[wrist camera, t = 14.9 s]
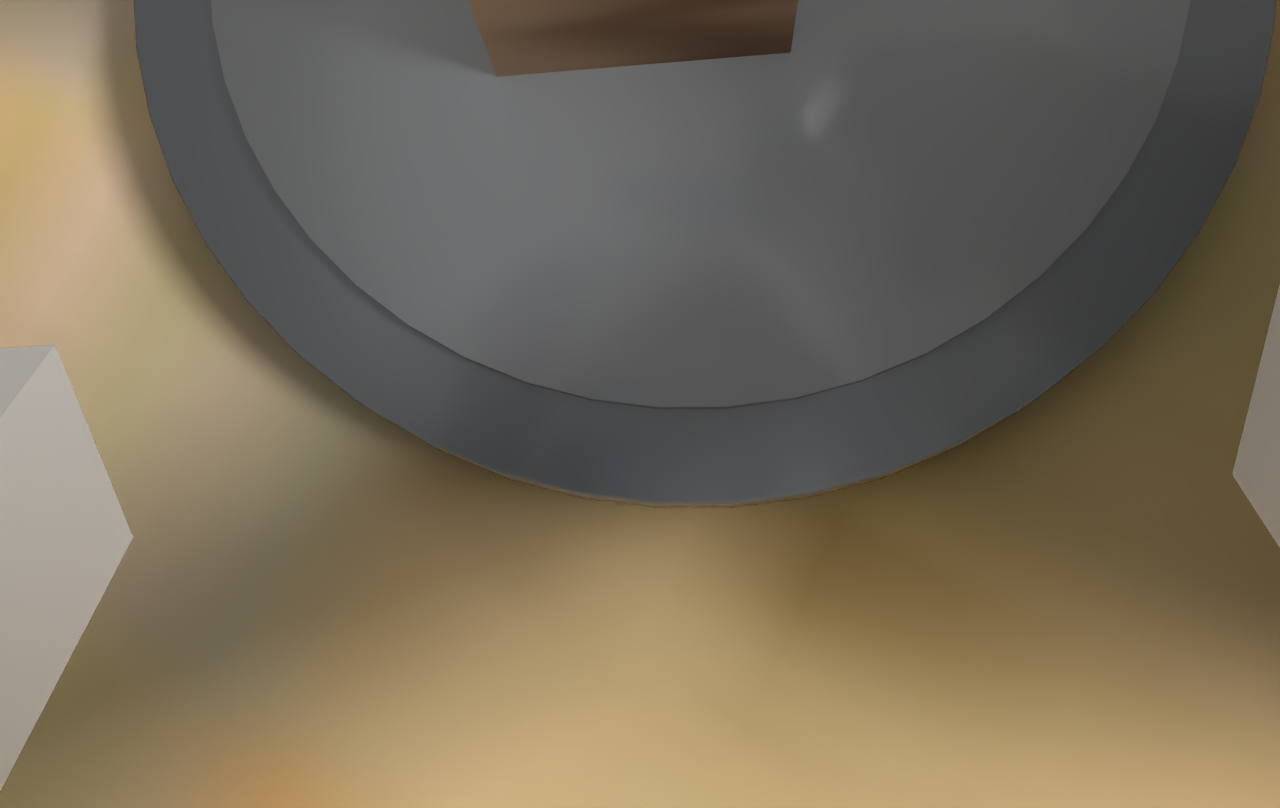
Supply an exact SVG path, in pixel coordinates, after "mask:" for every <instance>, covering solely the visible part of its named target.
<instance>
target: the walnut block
mask: <svg viewBox="0 0 1280 808" xmlns="http://www.w3.org/2000/svg"><path fill="white" fill-rule="evenodd" d="M468 2H469V5H470V7H471V10H472V13H473V15H474V18H475V21H476V23H477V26H478V28H479V31H480V34H481V36H482V39H483V42H484V44H485V47H486V50H487V52H488V55H489V57H490V60H491V63H492V65H493V68H494V71H495V73H496V76H497V77H500V76H512V75H524V74H537V73H549V72H561V71H573V70H585V69H597V68H610V67H622V66H634V65H646V64H658V63H670V62H683V61H695V60H707V59H719V58H731V57H744V56H756V55H768V54H780V53H791V47H792V40H793V33H794V26H795V19H796V13H797V6H798V0H468Z"/></svg>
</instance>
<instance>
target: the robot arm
mask: <svg viewBox="0 0 1280 808" xmlns="http://www.w3.org/2000/svg"><path fill="white" fill-rule="evenodd" d="M1232 475H1233V477H1234V478H1235V480H1236V481H1237V483H1238V484H1239V486H1240V487H1241V489H1242V491H1243V492H1244V494H1245V495H1246V497H1247V498H1248V500H1249V501H1250V503H1251V505H1252V506H1253V508H1254V509H1255V511H1256V512H1257V514H1258V515H1259V517H1260V518H1261V520H1262V522H1263V523H1264V525H1265V526H1266V528H1267V529H1268V531H1269V532H1270V534H1271V536H1272V537H1273V539H1274V540H1275V542H1276V543H1277V545H1278V546H1279V548H1280V285H1279V289H1278V293H1277V297H1276V301H1275V305H1274V309H1273V313H1272V317H1271V321H1270V325H1269V329H1268V333H1267V337H1266V341H1265V345H1264V349H1263V353H1262V357H1261V361H1260V365H1259V369H1258V373H1257V377H1256V381H1255V385H1254V389H1253V393H1252V397H1251V401H1250V405H1249V409H1248V413H1247V417H1246V421H1245V425H1244V429H1243V433H1242V437H1241V441H1240V445H1239V449H1238V453H1237V457H1236V461H1235V465H1234V469H1233V473H1232ZM132 539H133V536H132V533H131V531H130V528H129V526H128V523H127V521H126V518H125V516H124V513H123V511H122V508H121V506H120V504H119V501H118V499H117V496H116V494H115V491H114V489H113V486H112V484H111V481H110V479H109V476H108V474H107V471H106V469H105V467H104V464H103V462H102V459H101V457H100V454H99V452H98V449H97V447H96V444H95V442H94V439H93V437H92V434H91V432H90V430H89V427H88V425H87V422H86V420H85V417H84V415H83V412H82V410H81V407H80V405H79V402H78V400H77V397H76V395H75V393H74V390H73V388H72V385H71V383H70V380H69V378H68V375H67V373H66V370H65V368H64V365H63V363H62V360H61V358H60V356H59V353H58V351H57V348H56V346H55V345H45V346H29V347H14V348H0V791H1V789H2V787H3V785H4V783H5V782H6V780H7V778H8V776H9V774H10V772H11V770H12V768H13V766H14V764H15V762H16V761H17V759H18V757H19V755H20V753H21V751H22V749H23V747H24V745H25V743H26V741H27V739H28V738H29V736H30V734H31V732H32V730H33V728H34V726H35V724H36V722H37V720H38V718H39V717H40V715H41V713H42V711H43V709H44V707H45V705H46V703H47V701H48V699H49V697H50V695H51V694H52V692H53V690H54V688H55V686H56V684H57V682H58V680H59V678H60V676H61V674H62V673H63V671H64V669H65V667H66V665H67V663H68V661H69V659H70V657H71V655H72V653H73V651H74V650H75V648H76V646H77V644H78V642H79V640H80V638H81V636H82V634H83V632H84V630H85V629H86V627H87V625H88V623H89V621H90V619H91V617H92V615H93V613H94V611H95V609H96V607H97V606H98V604H99V602H100V600H101V598H102V596H103V594H104V592H105V590H106V588H107V586H108V585H109V583H110V581H111V579H112V577H113V575H114V573H115V571H116V569H117V567H118V565H119V563H120V562H121V560H122V558H123V556H124V554H125V552H126V550H127V548H128V546H129V544H130V542H131V541H132Z"/></svg>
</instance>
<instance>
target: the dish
mask: <svg viewBox="0 0 1280 808" xmlns="http://www.w3.org/2000/svg"><path fill="white" fill-rule="evenodd" d="M134 12H135V30H136V48H137V53H138V58H139V63H140V68H141V73H142V79H143V84H144V89H145V94H146V99H147V104H148V109H149V114H150V117H151V120H152V123H153V126H154V129H155V131H156V134H157V137H158V140H159V143H160V146H161V148H162V151H163V154H164V157H165V160H166V163H167V165H168V168H169V171H170V174H171V177H172V180H173V182H174V184H175V186H176V188H177V190H178V191H179V193H180V195H181V197H182V199H183V201H184V203H185V205H186V207H187V209H188V211H189V212H190V214H191V216H192V218H193V220H194V222H195V224H196V226H197V228H198V230H199V232H200V233H201V235H202V237H203V239H204V241H205V243H206V244H207V246H208V247H209V249H210V250H211V251H212V253H213V254H214V256H215V257H216V258H217V260H218V261H219V262H220V264H221V265H222V267H223V268H224V269H225V271H226V272H227V274H228V275H229V276H230V278H231V279H232V281H233V282H234V283H235V285H236V286H237V287H238V289H239V290H240V292H241V293H242V294H243V296H244V297H245V299H246V300H247V301H248V302H249V303H250V305H251V306H252V307H253V308H254V309H255V310H256V311H257V312H258V313H259V314H260V315H261V316H262V317H263V318H264V319H265V320H266V321H267V322H268V323H269V324H270V325H271V326H272V327H273V328H274V329H275V331H276V332H277V333H278V334H279V335H280V336H281V337H282V338H283V339H284V340H285V341H286V342H287V343H288V344H289V345H290V346H291V347H292V348H293V349H294V350H295V351H296V352H297V353H298V354H299V355H300V356H301V357H302V358H304V359H305V360H306V361H307V362H309V363H310V364H311V365H313V366H314V367H315V368H316V369H318V370H319V371H320V372H321V373H323V374H324V375H325V376H327V377H328V378H329V379H330V380H332V381H333V382H334V383H335V384H337V385H338V386H339V387H341V388H342V389H343V390H344V391H346V392H347V393H348V394H349V395H351V396H352V397H353V398H355V399H356V400H357V401H358V402H360V403H362V404H363V405H365V406H366V407H368V408H369V409H371V410H372V411H374V412H375V413H377V414H379V415H380V416H382V417H384V418H385V419H387V420H389V421H391V422H392V423H394V424H396V425H397V426H399V427H401V428H403V429H404V430H406V431H408V432H409V433H411V434H413V435H415V436H416V437H418V438H420V439H421V440H423V441H425V442H427V443H428V444H430V445H432V446H433V447H435V448H437V449H439V450H441V451H443V452H445V453H448V454H450V455H453V456H455V457H457V458H460V459H462V460H465V461H467V462H469V463H472V464H474V465H477V466H479V467H481V468H484V469H486V470H489V471H491V472H493V473H496V474H498V475H501V476H503V477H505V478H508V479H512V480H515V481H519V482H523V483H527V484H530V485H534V486H538V487H542V488H545V489H549V490H553V491H557V492H560V493H564V494H568V495H572V496H575V497H579V498H585V499H593V500H601V501H608V502H616V503H624V504H631V505H639V506H647V507H654V508H733V507H741V506H748V505H756V504H763V503H771V502H778V501H786V500H793V499H801V498H808V497H813V496H816V495H820V494H824V493H827V492H831V491H835V490H839V489H842V488H846V487H850V486H853V485H857V484H861V483H864V482H868V481H872V480H876V479H879V478H883V477H886V476H888V475H890V474H893V473H895V472H898V471H900V470H902V469H905V468H907V467H910V466H912V465H914V464H917V463H919V462H922V461H924V460H926V459H929V458H931V457H934V456H936V455H938V454H941V453H943V452H946V451H948V450H950V449H953V448H955V447H957V446H958V445H960V444H962V443H964V442H965V441H967V440H969V439H970V438H972V437H974V436H976V435H977V434H979V433H981V432H982V431H984V430H986V429H988V428H989V427H991V426H993V425H994V424H996V423H998V422H1000V421H1001V420H1003V419H1005V418H1006V417H1008V416H1010V415H1012V414H1013V413H1015V412H1017V411H1018V410H1020V409H1021V408H1023V407H1024V406H1026V405H1027V404H1029V403H1030V402H1032V401H1033V400H1034V399H1036V398H1037V397H1039V396H1040V395H1041V394H1043V393H1044V392H1045V391H1046V390H1048V389H1049V388H1050V387H1052V386H1053V385H1054V384H1055V383H1057V382H1058V381H1059V380H1061V379H1062V378H1063V377H1064V376H1066V375H1067V374H1068V373H1069V372H1071V371H1072V370H1073V369H1075V368H1076V367H1077V366H1078V365H1080V364H1081V363H1082V362H1084V361H1085V360H1086V359H1087V358H1089V357H1090V356H1091V355H1093V354H1094V353H1095V352H1096V351H1098V350H1099V349H1100V348H1101V347H1102V346H1103V345H1104V344H1105V343H1106V342H1107V341H1108V340H1109V339H1110V338H1111V337H1112V336H1113V335H1114V334H1115V333H1116V332H1117V331H1118V330H1119V329H1120V328H1121V327H1122V326H1123V325H1124V324H1125V323H1126V322H1127V321H1128V320H1129V318H1130V317H1131V316H1132V315H1133V314H1134V313H1135V312H1136V311H1137V310H1138V309H1139V308H1140V307H1141V306H1142V305H1143V304H1144V303H1145V302H1146V301H1147V300H1148V299H1149V298H1150V297H1151V296H1152V295H1153V294H1154V293H1155V292H1156V290H1157V289H1158V288H1159V286H1160V285H1161V283H1162V282H1163V281H1164V279H1165V278H1166V277H1167V275H1168V274H1169V272H1170V271H1171V270H1172V268H1173V267H1174V266H1175V264H1176V263H1177V261H1178V260H1179V259H1180V257H1181V256H1182V255H1183V253H1184V252H1185V250H1186V249H1187V248H1188V246H1189V245H1190V244H1191V242H1192V241H1193V240H1194V238H1195V237H1196V235H1197V234H1198V233H1199V231H1200V230H1201V228H1202V226H1203V224H1204V222H1205V220H1206V219H1207V217H1208V215H1209V213H1210V211H1211V209H1212V207H1213V205H1214V203H1215V202H1216V200H1217V198H1218V196H1219V194H1220V192H1221V190H1222V188H1223V186H1224V185H1225V183H1226V181H1227V179H1228V177H1229V175H1230V173H1231V171H1232V169H1233V168H1234V166H1235V164H1236V161H1237V158H1238V155H1239V153H1240V150H1241V147H1242V144H1243V141H1244V139H1245V136H1246V133H1247V130H1248V127H1249V125H1250V122H1251V119H1252V116H1253V113H1254V110H1255V108H1256V105H1257V102H1258V99H1259V96H1260V93H1261V88H1262V83H1263V78H1264V73H1265V68H1266V63H1267V58H1268V53H1269V48H1270V43H1271V38H1272V33H1273V28H1274V19H1275V0H798V6H797V13H796V19H795V26H794V33H793V40H792V47H791V53H780V54H768V55H756V56H744V57H731V58H719V59H707V60H695V61H683V62H670V63H658V64H646V65H634V66H622V67H610V68H597V69H585V70H573V71H561V72H549V73H537V74H524V75H512V76H500V77H497V76H496V73H495V71H494V68H493V65H492V63H491V60H490V57H489V55H488V52H487V50H486V47H485V44H484V42H483V39H482V36H481V34H480V31H479V28H478V26H477V23H476V21H475V18H474V15H473V13H472V10H471V7H470V5H469V2H468V0H134Z"/></svg>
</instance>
